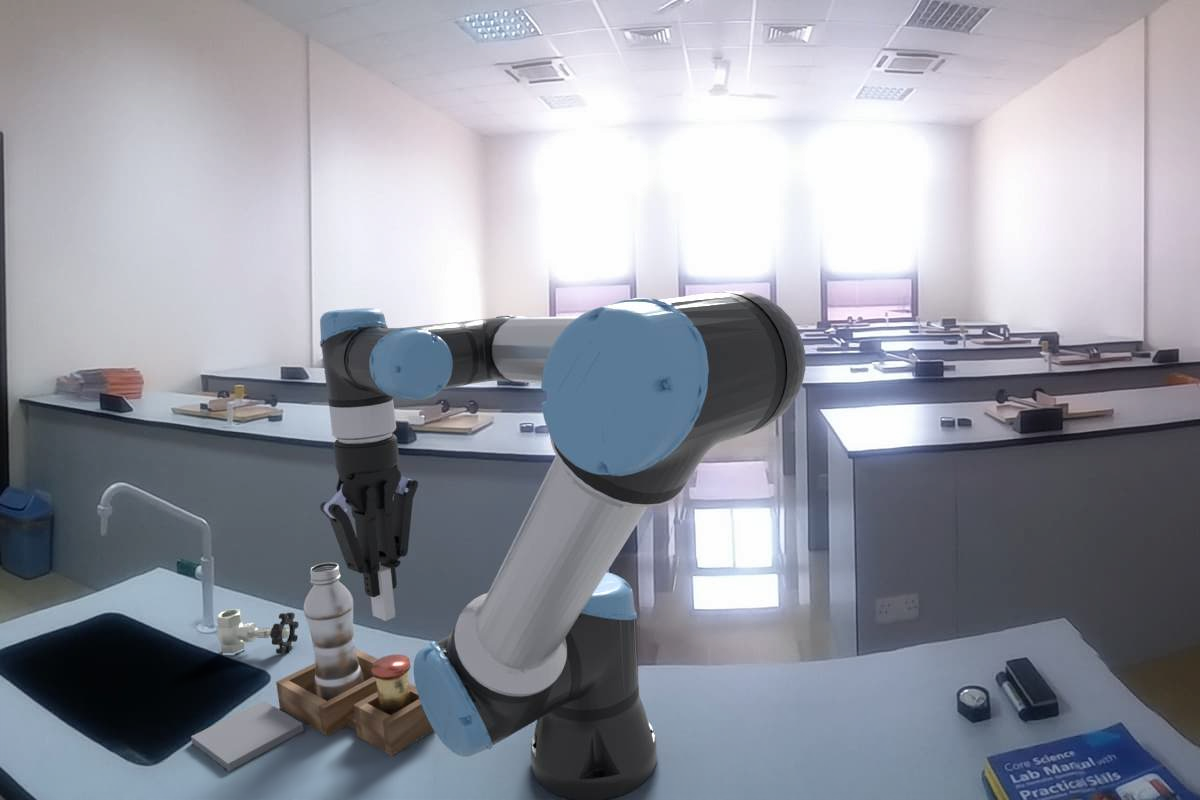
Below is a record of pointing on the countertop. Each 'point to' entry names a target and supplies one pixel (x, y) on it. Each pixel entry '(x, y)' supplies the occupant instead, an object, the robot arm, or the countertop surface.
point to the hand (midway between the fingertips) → (384, 615)
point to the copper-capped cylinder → (392, 682)
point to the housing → (354, 709)
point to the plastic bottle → (332, 633)
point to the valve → (253, 631)
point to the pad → (246, 734)
